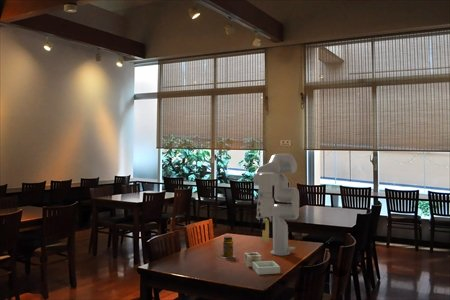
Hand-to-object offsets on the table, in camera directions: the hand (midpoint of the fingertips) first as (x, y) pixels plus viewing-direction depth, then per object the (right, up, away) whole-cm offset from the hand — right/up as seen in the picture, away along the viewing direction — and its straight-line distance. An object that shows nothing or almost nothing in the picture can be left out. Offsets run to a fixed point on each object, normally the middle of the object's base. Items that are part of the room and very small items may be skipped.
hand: (265, 229), depth 216 cm
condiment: (-21, -24, +31) cm, 44 cm away
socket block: (-6, -23, +12) cm, 26 cm away
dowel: (0, -7, 0) cm, 7 cm away
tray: (0, -23, 0) cm, 23 cm away
